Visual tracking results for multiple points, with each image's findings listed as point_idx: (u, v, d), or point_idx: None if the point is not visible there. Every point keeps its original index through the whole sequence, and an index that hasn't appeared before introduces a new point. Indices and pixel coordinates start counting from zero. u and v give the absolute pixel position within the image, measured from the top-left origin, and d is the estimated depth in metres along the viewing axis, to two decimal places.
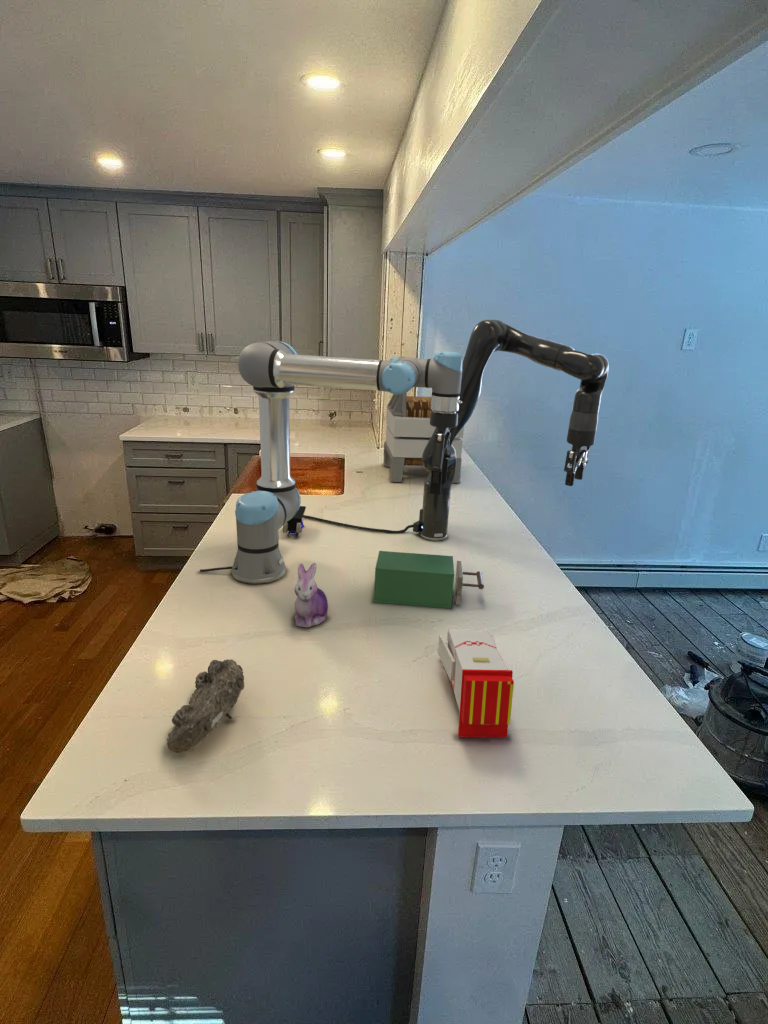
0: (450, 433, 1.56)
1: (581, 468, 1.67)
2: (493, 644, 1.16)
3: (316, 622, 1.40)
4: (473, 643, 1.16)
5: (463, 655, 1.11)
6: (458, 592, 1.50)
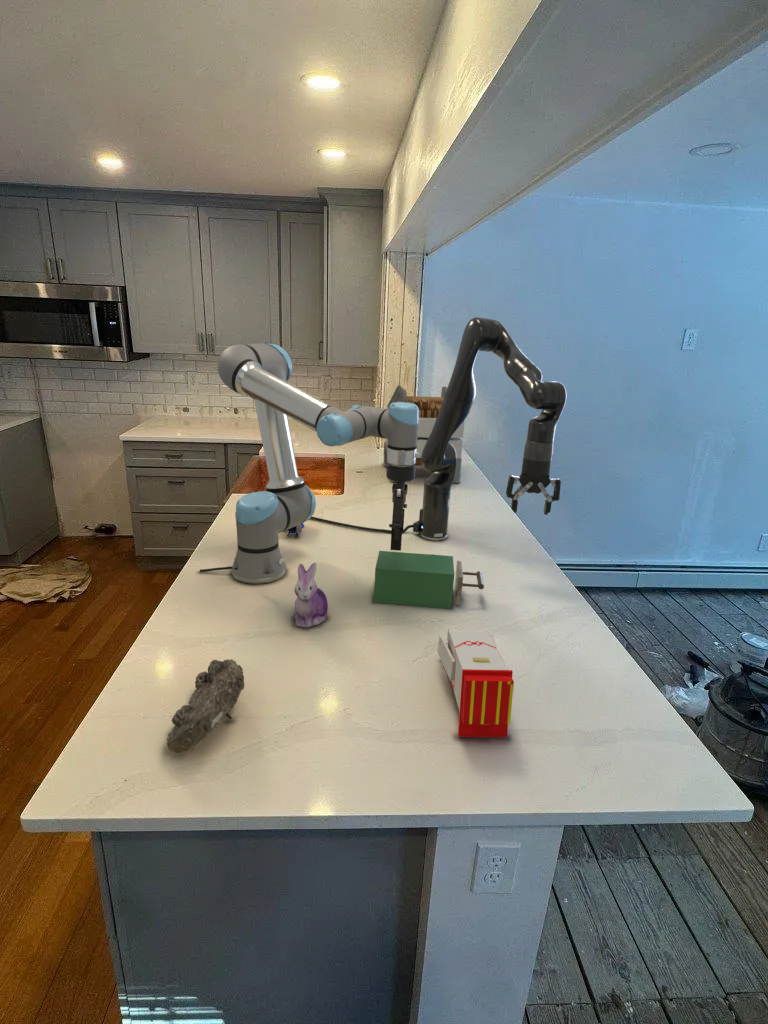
0: (407, 485, 1.49)
1: (546, 502, 1.57)
2: (493, 644, 1.16)
3: (316, 622, 1.40)
4: (473, 643, 1.16)
5: (463, 655, 1.11)
6: (458, 592, 1.50)
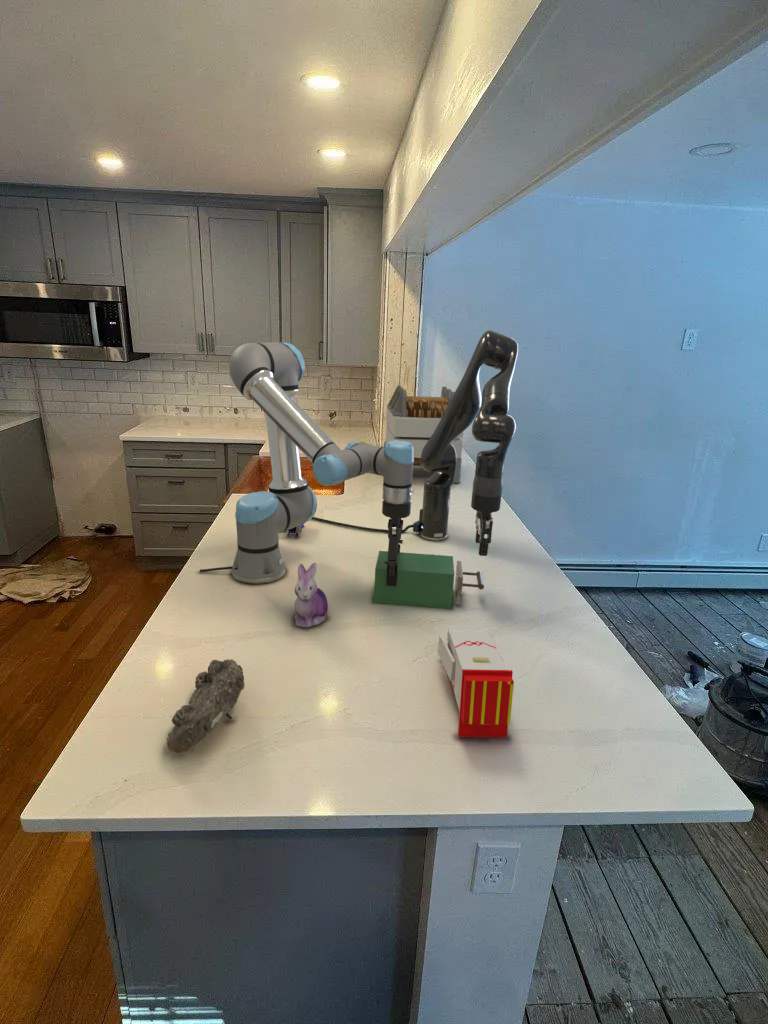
0: None
1: None
2: (493, 644, 1.16)
3: (316, 622, 1.40)
4: (473, 643, 1.16)
5: (463, 655, 1.11)
6: (458, 592, 1.50)
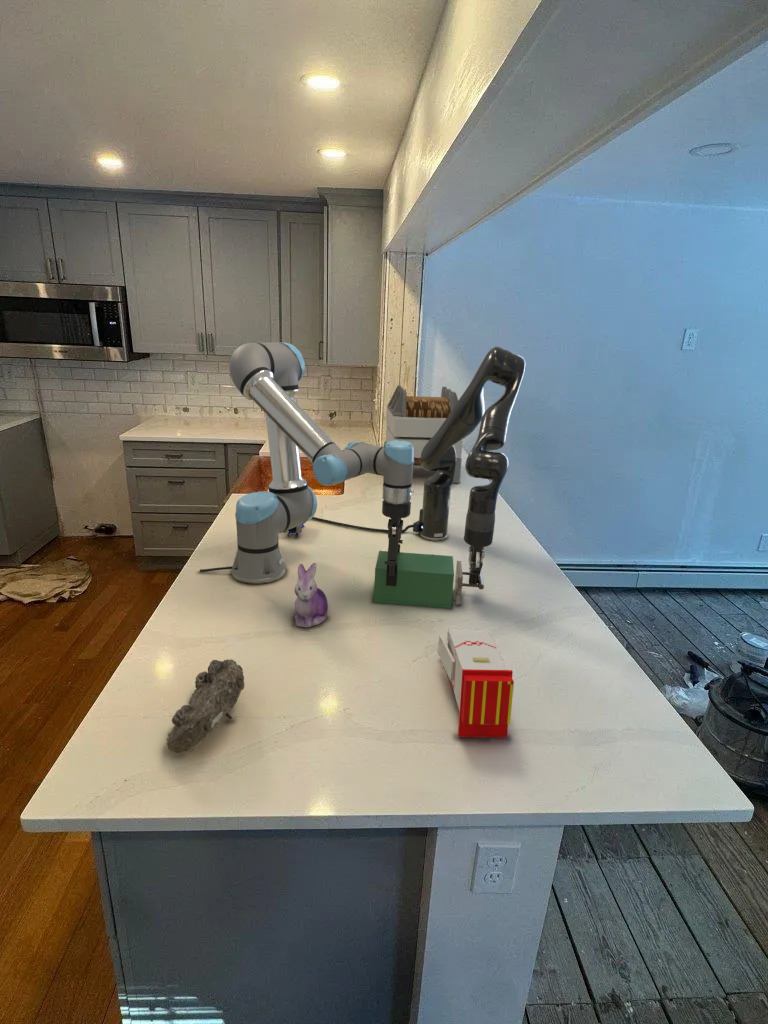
0: None
1: None
2: (493, 644, 1.16)
3: (316, 622, 1.40)
4: (473, 643, 1.16)
5: (463, 655, 1.11)
6: (458, 592, 1.50)
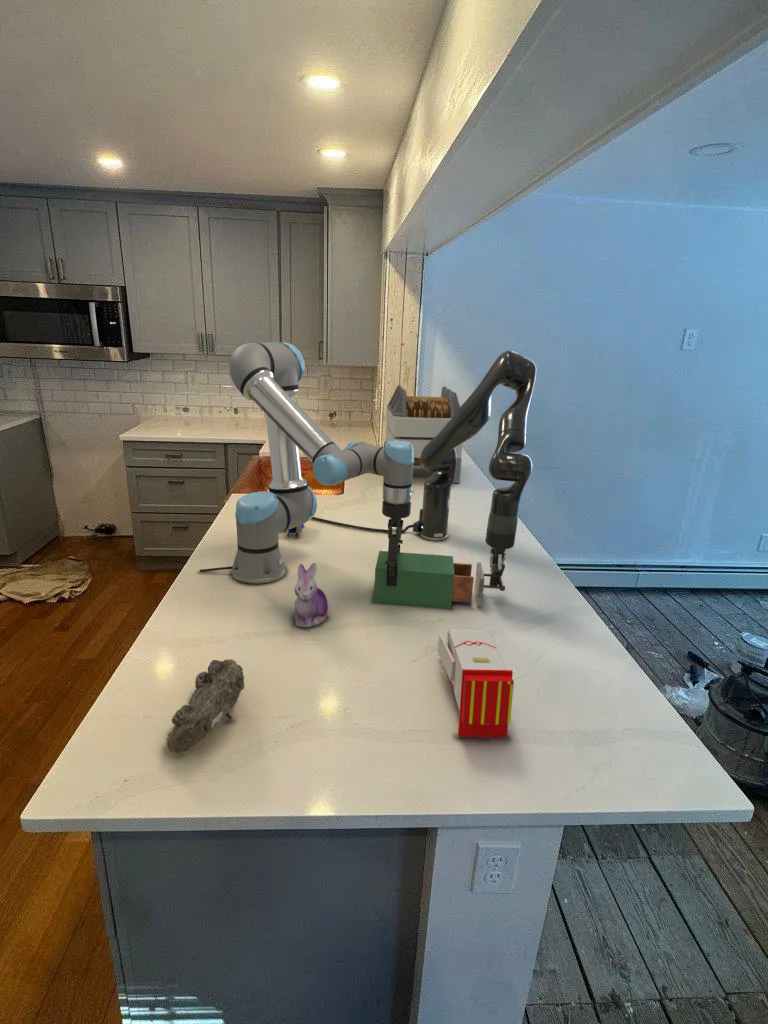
0: None
1: None
2: (493, 644, 1.16)
3: (316, 622, 1.40)
4: (473, 643, 1.16)
5: (463, 655, 1.11)
6: (479, 594, 1.50)
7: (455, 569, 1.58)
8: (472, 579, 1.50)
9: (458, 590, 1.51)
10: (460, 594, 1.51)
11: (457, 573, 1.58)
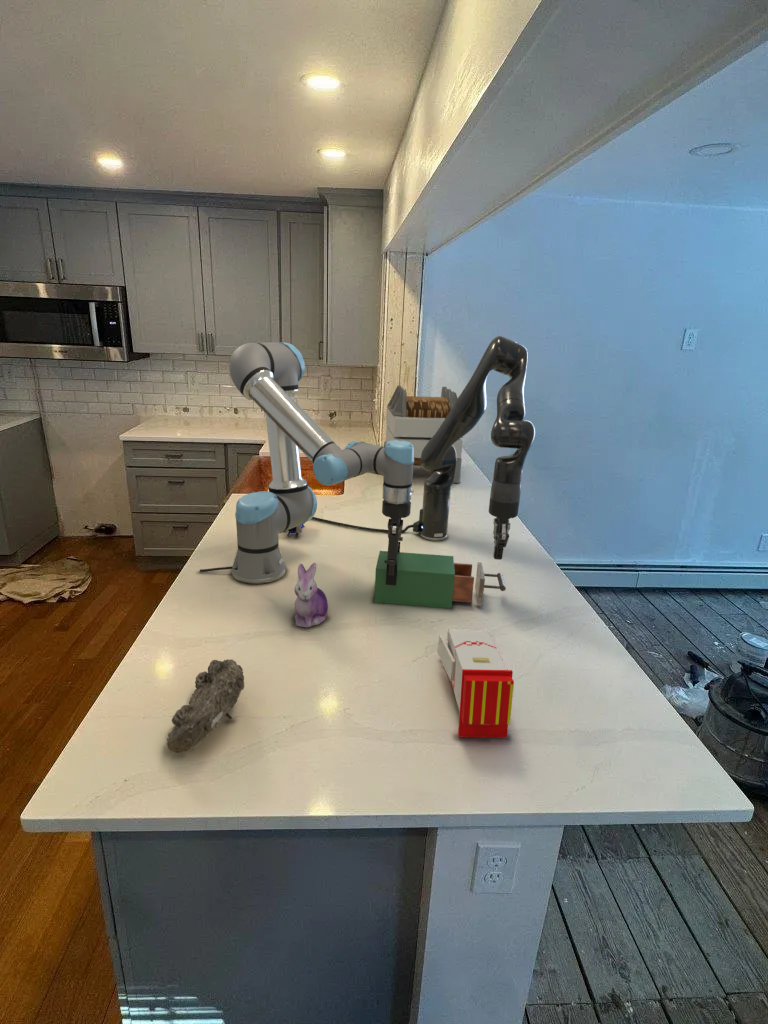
0: None
1: None
2: (493, 644, 1.16)
3: (316, 622, 1.40)
4: (473, 643, 1.16)
5: (463, 655, 1.11)
6: (480, 594, 1.50)
7: (455, 569, 1.58)
8: (472, 579, 1.50)
9: (459, 590, 1.51)
10: (460, 594, 1.51)
11: (457, 573, 1.58)
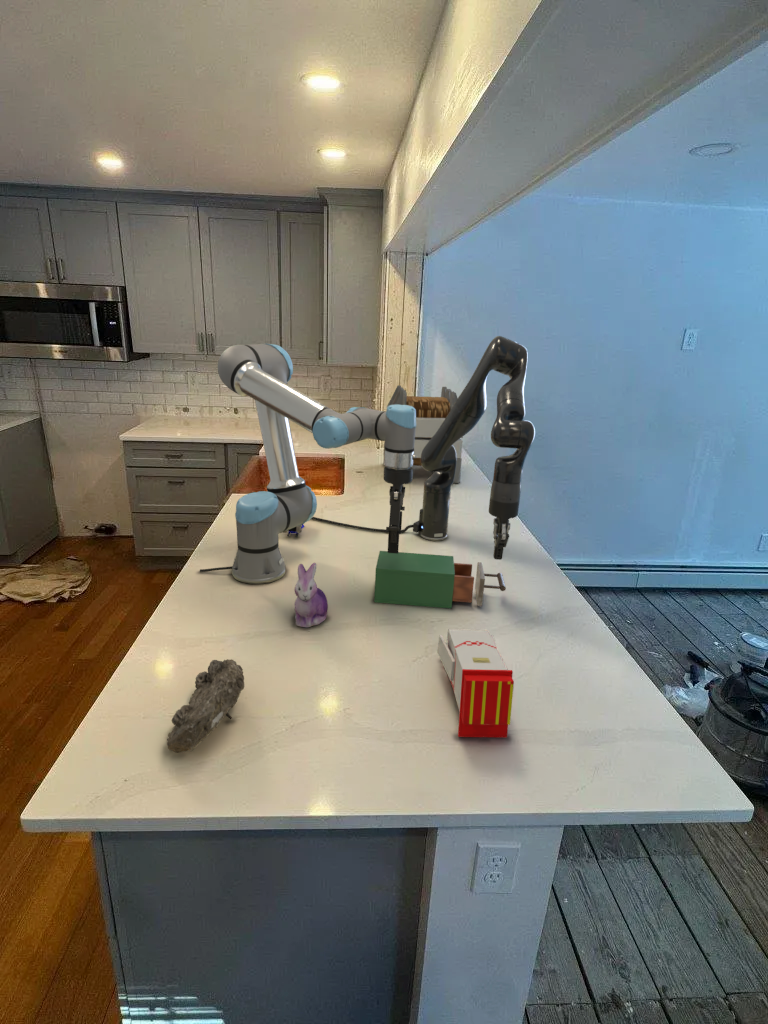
0: None
1: None
2: (493, 644, 1.16)
3: (316, 622, 1.40)
4: (473, 643, 1.16)
5: (463, 655, 1.11)
6: (480, 594, 1.50)
7: (455, 569, 1.58)
8: (472, 579, 1.50)
9: (459, 590, 1.51)
10: (460, 594, 1.51)
11: (457, 573, 1.58)
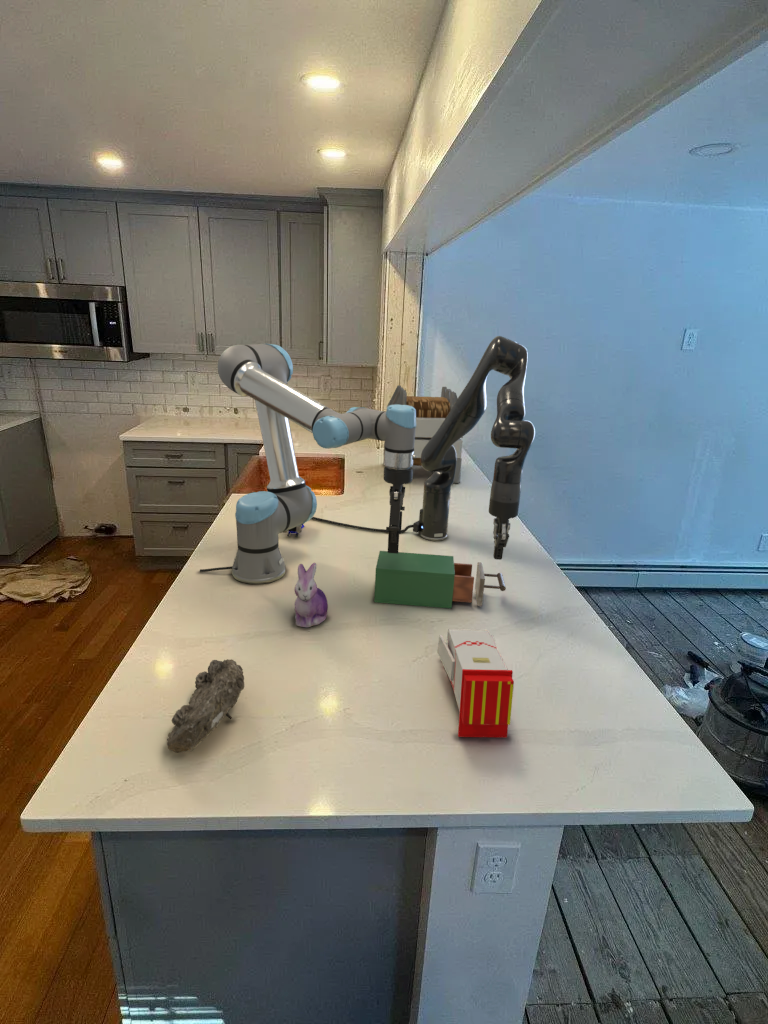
0: None
1: None
2: (493, 644, 1.16)
3: (316, 622, 1.40)
4: (473, 643, 1.16)
5: (463, 655, 1.11)
6: (480, 594, 1.50)
7: (455, 569, 1.58)
8: (472, 579, 1.50)
9: (459, 590, 1.51)
10: (460, 594, 1.51)
11: (457, 573, 1.58)
